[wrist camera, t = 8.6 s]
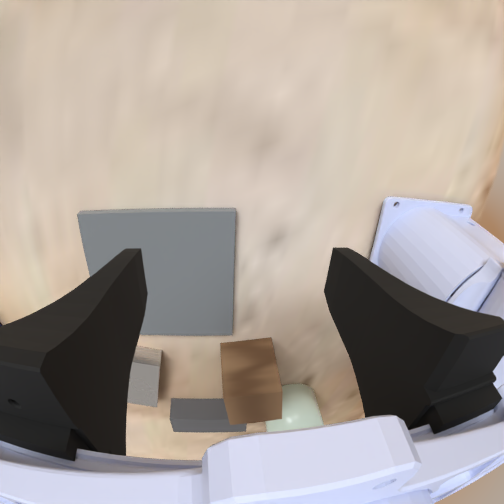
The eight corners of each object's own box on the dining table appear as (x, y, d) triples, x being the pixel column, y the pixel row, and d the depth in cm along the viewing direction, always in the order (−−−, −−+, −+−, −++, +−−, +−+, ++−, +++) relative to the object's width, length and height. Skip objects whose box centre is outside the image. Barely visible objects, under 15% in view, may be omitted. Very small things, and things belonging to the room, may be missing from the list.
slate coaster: (235, 208, 21) (235, 211, 21) (231, 330, 27) (232, 335, 26) (80, 211, 20) (77, 214, 19) (107, 328, 25) (106, 333, 25)
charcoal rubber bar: (244, 396, 32) (247, 418, 30) (243, 409, 34) (245, 431, 31) (171, 396, 31) (169, 419, 29) (174, 410, 33) (173, 431, 30)
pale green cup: (319, 380, 32) (330, 418, 28) (309, 409, 35) (317, 443, 31) (264, 385, 31) (271, 425, 27) (260, 414, 34) (265, 449, 30)
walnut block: (271, 337, 28) (282, 391, 22) (272, 368, 30) (281, 418, 25) (220, 342, 27) (223, 398, 22) (226, 373, 30) (230, 425, 24)
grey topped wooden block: (110, 337, 26) (104, 356, 24) (162, 346, 27) (159, 366, 25) (113, 381, 30) (110, 399, 28) (158, 389, 31) (157, 407, 29)
